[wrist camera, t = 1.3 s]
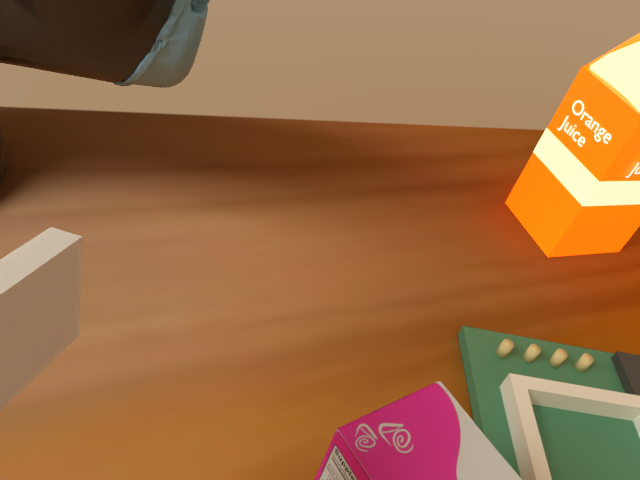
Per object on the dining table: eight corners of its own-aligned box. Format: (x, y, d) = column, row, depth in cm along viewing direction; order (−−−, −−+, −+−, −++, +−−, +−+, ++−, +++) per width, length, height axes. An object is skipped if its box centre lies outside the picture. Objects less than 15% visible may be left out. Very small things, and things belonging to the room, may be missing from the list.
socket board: (457, 334, 44) (471, 312, 43) (654, 370, 47) (674, 350, 45) (501, 569, 32) (522, 551, 31) (763, 602, 35) (796, 586, 33)
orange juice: (503, 201, 59) (617, -1, 46) (572, 199, 62) (697, 10, 49) (548, 259, 54) (691, 49, 41) (621, 253, 57) (774, 58, 44)
